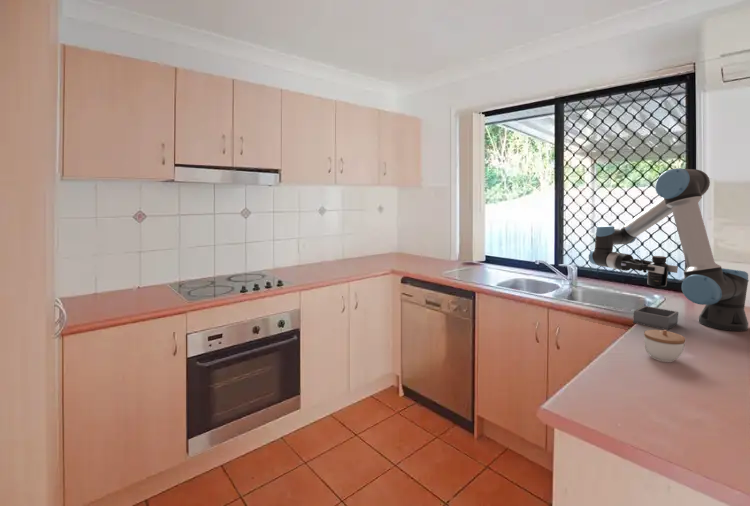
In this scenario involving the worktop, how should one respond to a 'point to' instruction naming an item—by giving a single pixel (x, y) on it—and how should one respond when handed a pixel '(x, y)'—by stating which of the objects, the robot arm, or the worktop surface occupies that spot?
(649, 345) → the lidded jar
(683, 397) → the worktop surface
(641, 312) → the bin
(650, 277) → the supplement bottle
